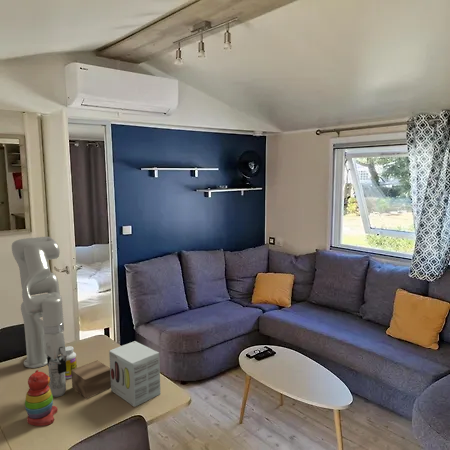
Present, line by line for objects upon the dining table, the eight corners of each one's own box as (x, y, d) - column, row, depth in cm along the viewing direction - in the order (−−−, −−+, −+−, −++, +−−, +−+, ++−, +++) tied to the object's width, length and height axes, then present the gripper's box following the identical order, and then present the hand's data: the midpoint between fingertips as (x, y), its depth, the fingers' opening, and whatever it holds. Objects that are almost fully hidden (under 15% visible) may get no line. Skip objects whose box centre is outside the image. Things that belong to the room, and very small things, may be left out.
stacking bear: (53, 424, 148) (49, 378, 145) (22, 428, 145) (18, 381, 143) (58, 408, 158) (55, 364, 156) (30, 411, 156) (26, 367, 154)
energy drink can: (66, 388, 172) (63, 354, 170) (66, 395, 167) (63, 360, 165) (50, 391, 170) (48, 357, 168) (50, 398, 164) (47, 363, 162)
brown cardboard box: (72, 387, 173) (71, 370, 171) (98, 377, 181) (97, 360, 180) (86, 398, 164) (85, 379, 163) (112, 387, 173) (111, 369, 172)
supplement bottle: (71, 380, 179) (70, 352, 177) (58, 378, 180) (56, 351, 179) (80, 372, 186) (78, 345, 184) (67, 371, 187) (65, 344, 185)
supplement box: (110, 391, 169) (107, 350, 167) (136, 379, 179) (135, 340, 176) (134, 407, 158) (132, 363, 155) (161, 393, 167) (160, 351, 165)
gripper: (35, 325, 168) (38, 365, 170) (53, 336, 156) (57, 378, 158) (53, 320, 173) (56, 359, 175) (72, 330, 161) (75, 371, 163)
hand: (57, 368), depth 166 cm, fingers open, 9 cm apart
